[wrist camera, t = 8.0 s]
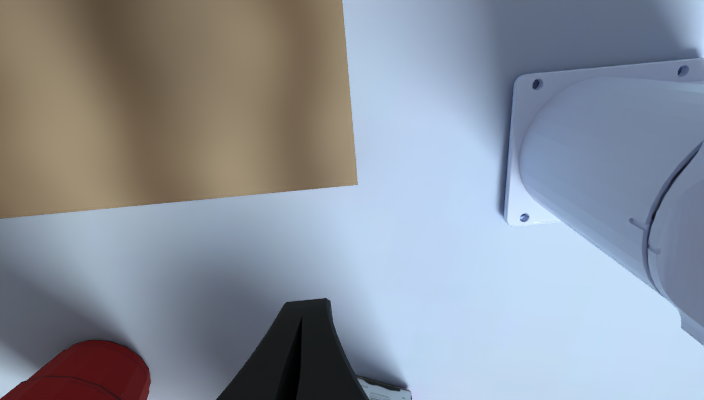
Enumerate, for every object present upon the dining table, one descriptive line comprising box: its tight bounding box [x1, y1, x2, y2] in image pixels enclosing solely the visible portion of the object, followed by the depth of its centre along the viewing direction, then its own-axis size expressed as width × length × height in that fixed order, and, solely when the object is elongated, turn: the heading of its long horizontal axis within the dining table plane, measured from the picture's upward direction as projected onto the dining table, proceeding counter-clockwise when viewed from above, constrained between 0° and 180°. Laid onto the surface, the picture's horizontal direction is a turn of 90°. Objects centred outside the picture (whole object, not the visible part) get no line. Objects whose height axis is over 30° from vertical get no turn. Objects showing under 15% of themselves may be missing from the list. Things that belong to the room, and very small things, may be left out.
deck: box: [0, 0, 358, 219], centre depth 16 cm, size 24×10×2 cm, turn 95°
